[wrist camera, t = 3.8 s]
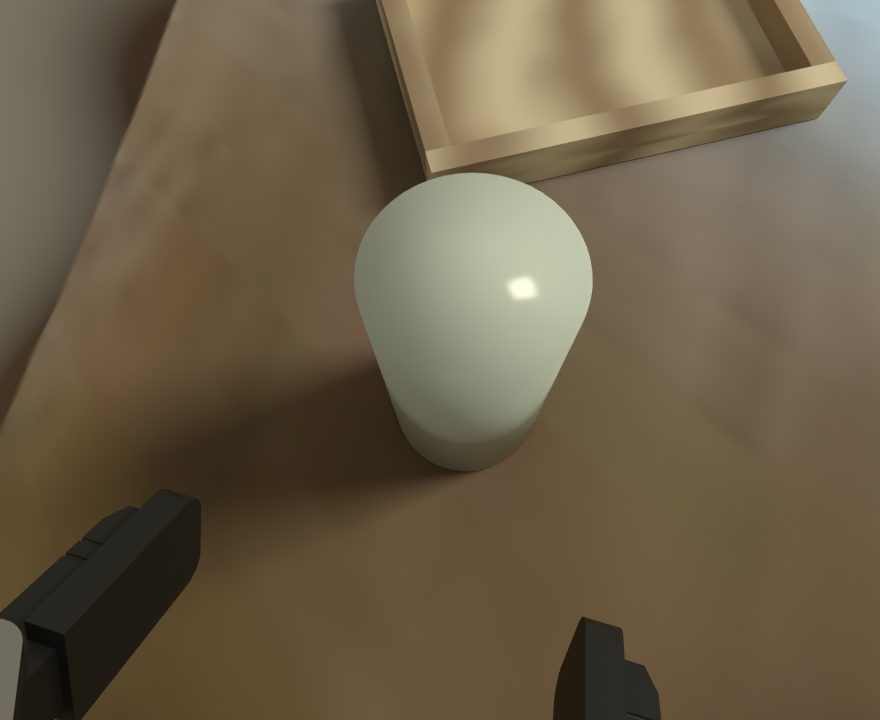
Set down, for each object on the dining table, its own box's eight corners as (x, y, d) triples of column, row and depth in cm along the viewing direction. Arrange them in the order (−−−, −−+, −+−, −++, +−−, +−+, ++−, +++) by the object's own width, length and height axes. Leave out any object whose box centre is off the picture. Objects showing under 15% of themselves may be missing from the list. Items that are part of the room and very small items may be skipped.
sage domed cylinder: (513, 324, 28) (551, 152, 17) (553, 452, 26) (626, 353, 15) (383, 355, 28) (334, 200, 17) (413, 487, 26) (381, 413, 15)
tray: (712, -73, 36) (729, -118, 34) (818, 117, 32) (847, 80, 29) (374, -4, 35) (368, -46, 33) (433, 204, 30) (431, 172, 28)
